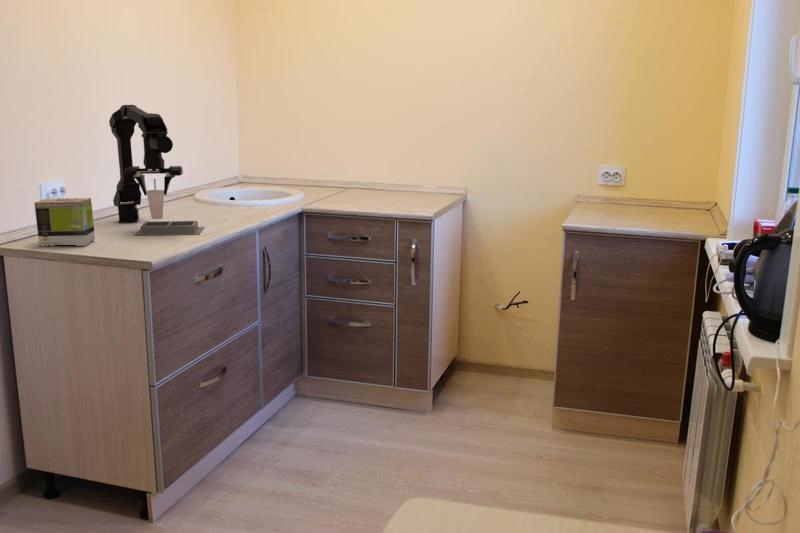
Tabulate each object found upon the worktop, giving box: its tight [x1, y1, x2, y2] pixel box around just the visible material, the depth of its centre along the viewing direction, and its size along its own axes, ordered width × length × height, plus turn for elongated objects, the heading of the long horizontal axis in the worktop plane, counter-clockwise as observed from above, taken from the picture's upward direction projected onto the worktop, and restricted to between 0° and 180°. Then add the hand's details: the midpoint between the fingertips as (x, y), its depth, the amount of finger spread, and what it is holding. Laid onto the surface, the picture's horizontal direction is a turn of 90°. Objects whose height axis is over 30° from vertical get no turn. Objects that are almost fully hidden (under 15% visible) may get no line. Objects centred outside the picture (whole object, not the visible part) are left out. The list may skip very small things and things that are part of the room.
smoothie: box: [146, 178, 165, 220], centre depth 278 cm, size 6×6×14 cm
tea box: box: [34, 197, 96, 247], centre depth 258 cm, size 15×10×15 cm, turn 92°
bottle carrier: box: [134, 220, 205, 237], centre depth 280 cm, size 22×13×3 cm, turn 97°
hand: (155, 195), depth 277 cm, fingers closed on smoothie, 6 cm apart
